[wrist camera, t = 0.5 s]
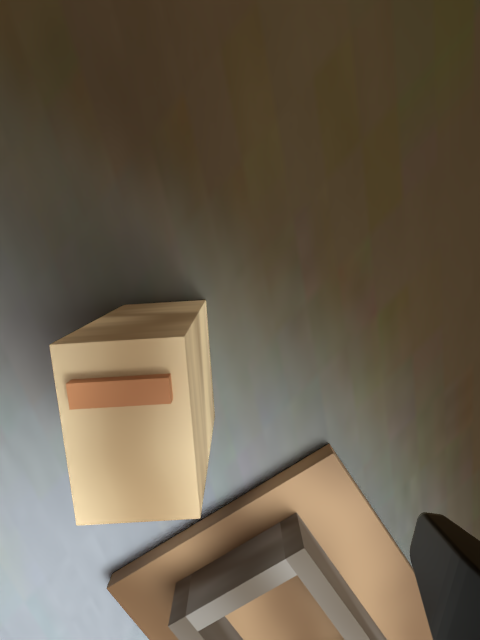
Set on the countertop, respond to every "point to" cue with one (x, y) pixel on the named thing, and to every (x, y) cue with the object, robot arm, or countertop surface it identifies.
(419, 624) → the holder
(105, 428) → the keyed block
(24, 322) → the countertop surface
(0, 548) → the countertop surface
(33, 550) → the countertop surface
